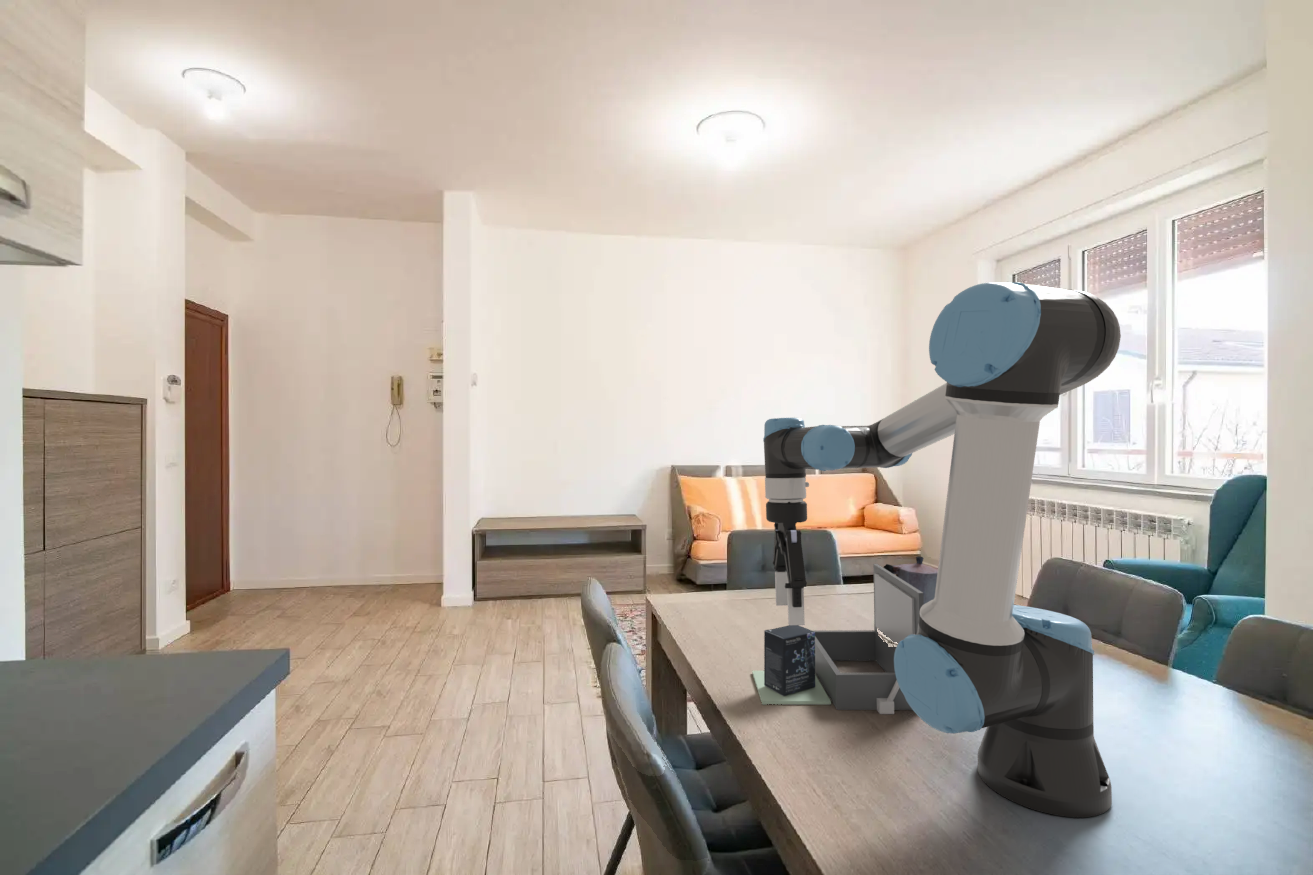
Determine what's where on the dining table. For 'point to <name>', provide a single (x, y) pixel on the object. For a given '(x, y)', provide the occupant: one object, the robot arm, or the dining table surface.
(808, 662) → the box
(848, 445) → the robot arm
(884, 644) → the case
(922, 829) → the dining table surface
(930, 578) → the moka pot
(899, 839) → the dining table surface
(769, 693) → the pad
